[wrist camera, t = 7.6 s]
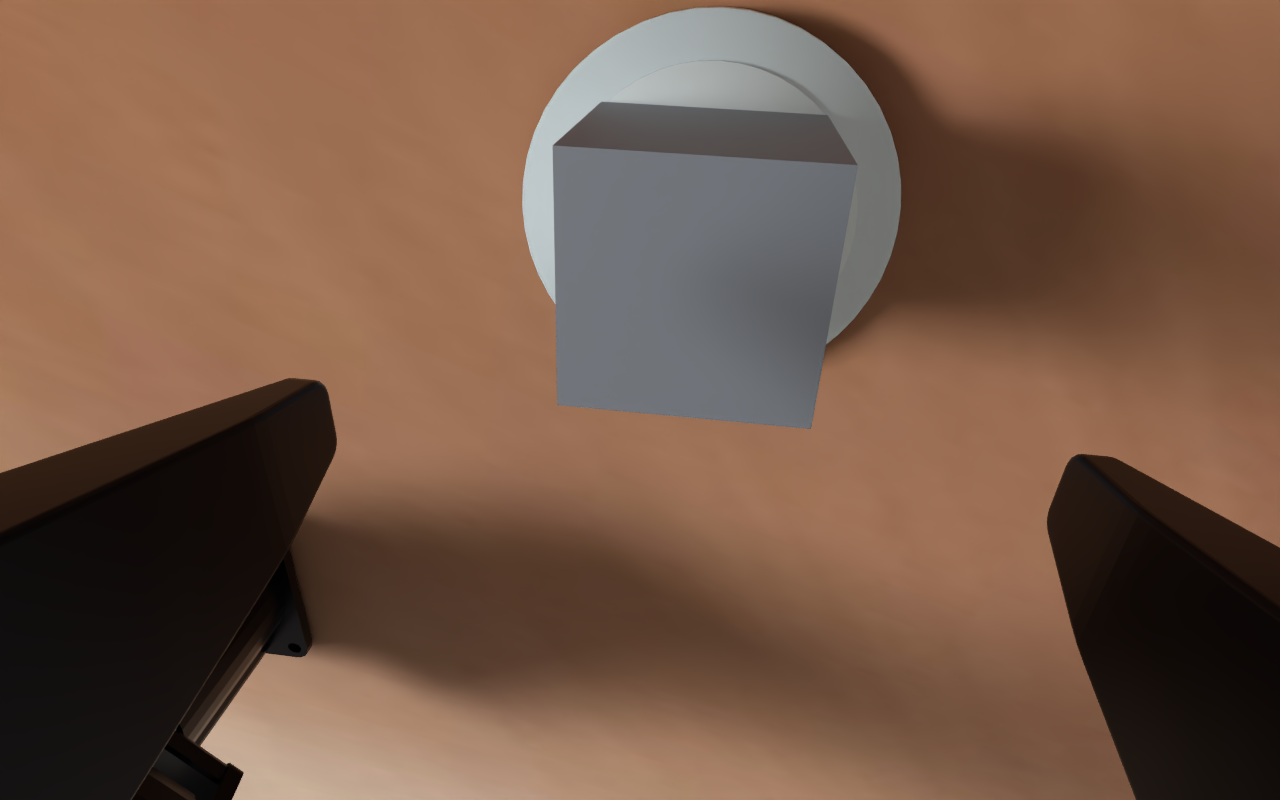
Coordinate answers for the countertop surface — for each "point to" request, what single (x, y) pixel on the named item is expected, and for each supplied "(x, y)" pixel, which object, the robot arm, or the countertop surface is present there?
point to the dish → (742, 80)
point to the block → (697, 260)
